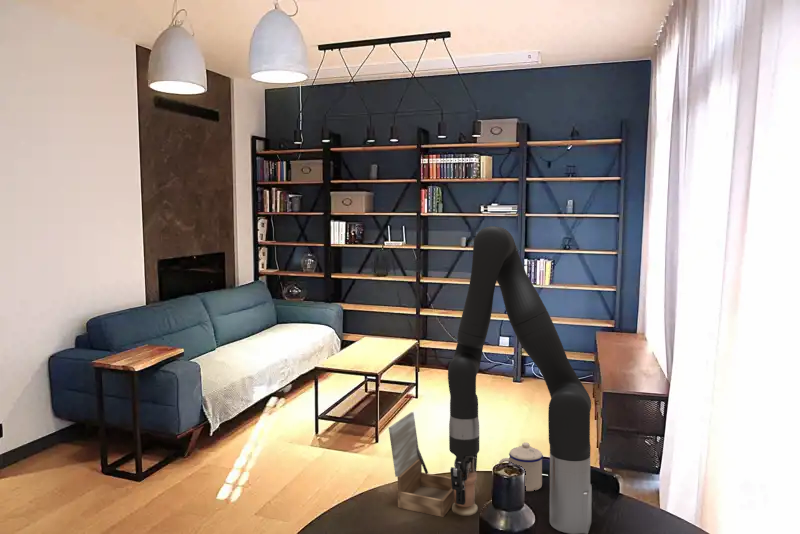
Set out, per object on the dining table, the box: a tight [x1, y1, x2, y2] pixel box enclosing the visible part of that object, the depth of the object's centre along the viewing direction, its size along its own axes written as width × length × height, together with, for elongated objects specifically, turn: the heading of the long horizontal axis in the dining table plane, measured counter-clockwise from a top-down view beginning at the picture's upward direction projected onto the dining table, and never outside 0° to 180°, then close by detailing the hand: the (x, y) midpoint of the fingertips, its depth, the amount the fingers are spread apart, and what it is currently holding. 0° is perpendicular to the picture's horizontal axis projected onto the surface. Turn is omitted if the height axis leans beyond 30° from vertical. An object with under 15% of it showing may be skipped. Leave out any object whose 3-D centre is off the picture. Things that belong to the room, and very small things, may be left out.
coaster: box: [451, 502, 478, 517], centre depth 147 cm, size 6×6×1 cm
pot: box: [454, 471, 478, 507], centre depth 147 cm, size 6×6×7 cm
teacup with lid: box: [498, 442, 544, 492], centre depth 161 cm, size 12×9×12 cm
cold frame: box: [388, 411, 454, 518], centre depth 152 cm, size 15×14×20 cm
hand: (464, 498), depth 147 cm, fingers closed on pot, 5 cm apart
